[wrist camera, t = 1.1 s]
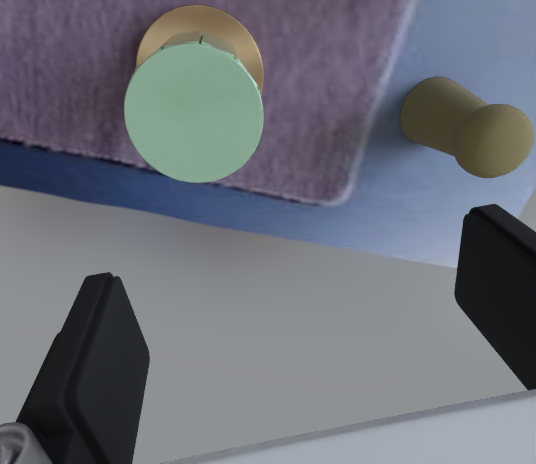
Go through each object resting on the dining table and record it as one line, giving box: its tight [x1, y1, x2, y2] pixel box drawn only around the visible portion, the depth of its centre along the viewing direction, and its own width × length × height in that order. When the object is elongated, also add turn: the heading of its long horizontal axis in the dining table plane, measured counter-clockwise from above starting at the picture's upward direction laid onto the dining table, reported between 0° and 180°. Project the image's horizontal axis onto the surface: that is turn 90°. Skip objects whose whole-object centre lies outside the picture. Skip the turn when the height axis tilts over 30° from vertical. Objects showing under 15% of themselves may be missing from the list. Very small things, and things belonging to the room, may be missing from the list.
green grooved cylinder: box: [124, 30, 264, 183], centre depth 25 cm, size 7×7×9 cm
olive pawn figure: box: [400, 77, 534, 178], centre depth 32 cm, size 6×6×11 cm
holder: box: [136, 5, 264, 96], centre depth 27 cm, size 10×10×14 cm
